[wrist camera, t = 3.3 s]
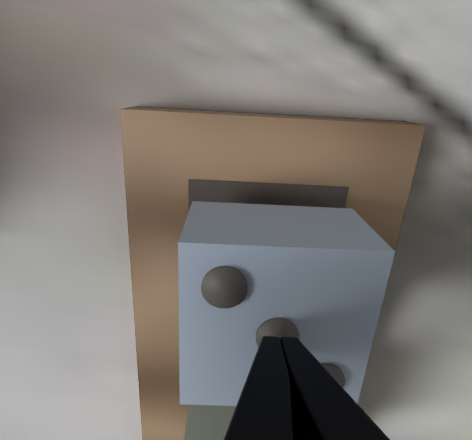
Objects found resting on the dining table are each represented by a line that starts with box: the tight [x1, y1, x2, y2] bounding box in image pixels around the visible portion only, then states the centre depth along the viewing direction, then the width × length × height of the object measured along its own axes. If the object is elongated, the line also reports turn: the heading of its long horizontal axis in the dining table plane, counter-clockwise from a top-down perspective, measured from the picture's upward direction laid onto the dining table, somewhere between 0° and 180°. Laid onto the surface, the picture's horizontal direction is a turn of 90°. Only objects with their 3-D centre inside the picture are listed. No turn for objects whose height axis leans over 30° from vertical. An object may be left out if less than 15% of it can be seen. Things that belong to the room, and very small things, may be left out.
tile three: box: [178, 201, 395, 406], centre depth 10 cm, size 5×5×3 cm
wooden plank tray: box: [120, 107, 426, 440], centre depth 16 cm, size 25×10×2 cm, turn 177°
